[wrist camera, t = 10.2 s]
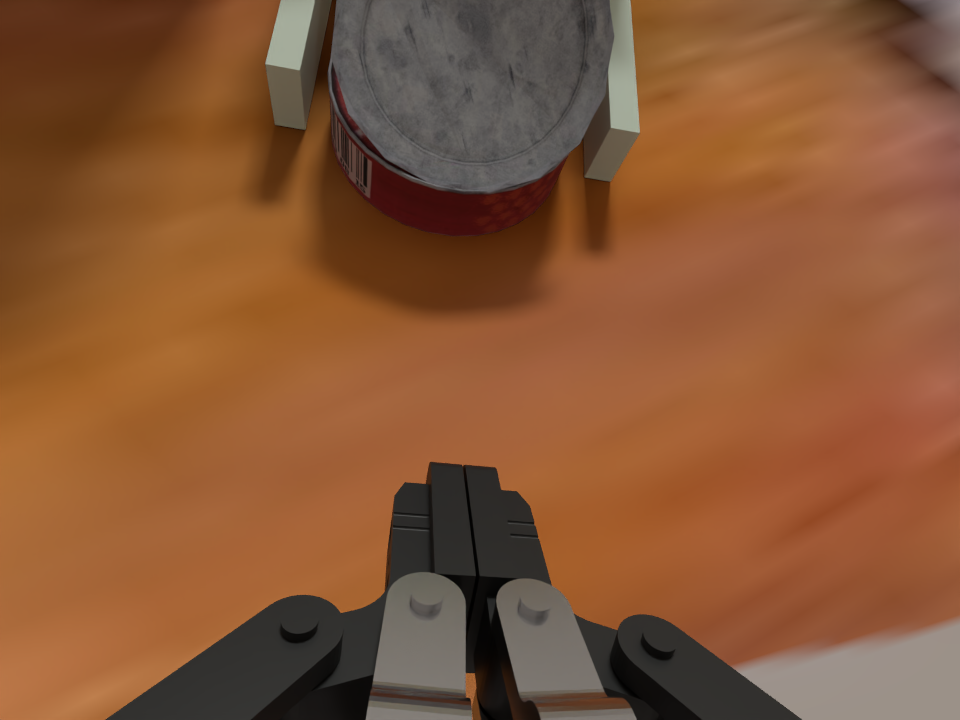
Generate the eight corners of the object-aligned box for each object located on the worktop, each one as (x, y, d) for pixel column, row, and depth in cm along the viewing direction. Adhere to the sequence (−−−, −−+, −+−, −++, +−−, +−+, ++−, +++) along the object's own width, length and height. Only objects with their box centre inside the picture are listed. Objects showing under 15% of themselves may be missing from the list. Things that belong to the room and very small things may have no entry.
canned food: (534, 201, 32) (697, 132, 23) (383, 294, 27) (521, 249, 18) (427, -20, 29) (569, -190, 20) (236, 40, 24) (320, -150, 15)
